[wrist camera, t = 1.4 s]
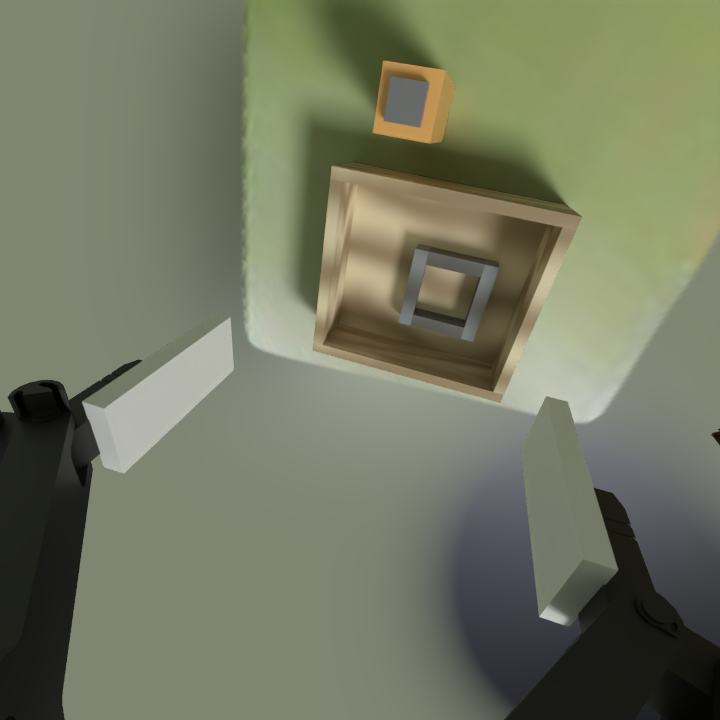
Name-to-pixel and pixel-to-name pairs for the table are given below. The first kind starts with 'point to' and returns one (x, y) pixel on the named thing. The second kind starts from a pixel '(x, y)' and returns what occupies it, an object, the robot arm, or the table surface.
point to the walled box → (435, 276)
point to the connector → (413, 102)
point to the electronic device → (717, 436)
